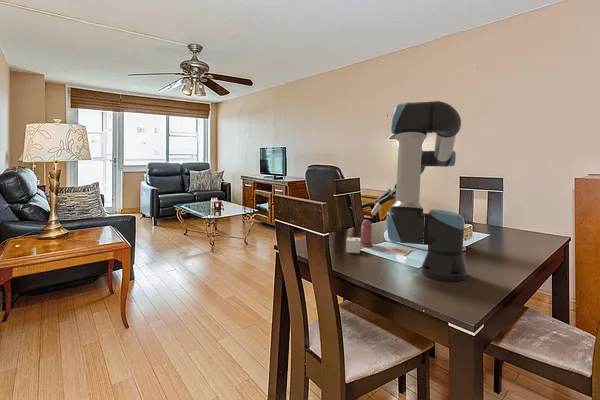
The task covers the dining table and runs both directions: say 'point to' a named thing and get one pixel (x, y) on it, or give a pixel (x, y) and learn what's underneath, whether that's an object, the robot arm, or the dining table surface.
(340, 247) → the dining table surface
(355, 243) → the die
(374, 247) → the game board
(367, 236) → the dildo
